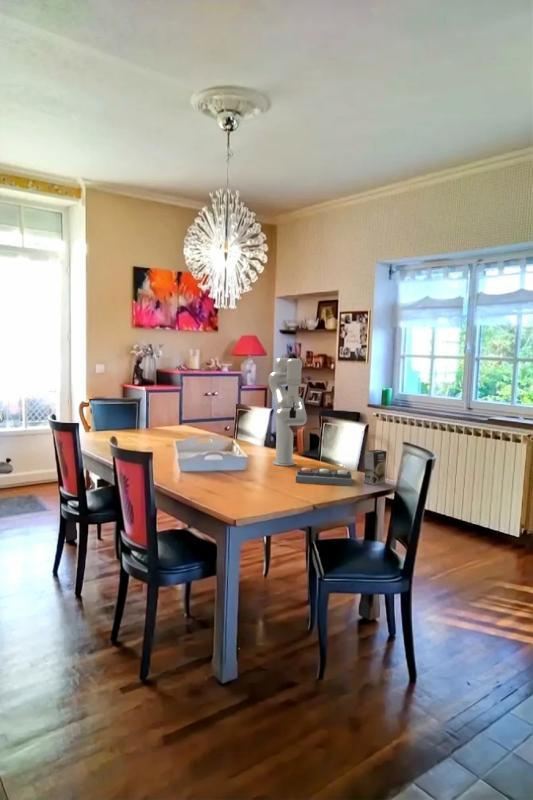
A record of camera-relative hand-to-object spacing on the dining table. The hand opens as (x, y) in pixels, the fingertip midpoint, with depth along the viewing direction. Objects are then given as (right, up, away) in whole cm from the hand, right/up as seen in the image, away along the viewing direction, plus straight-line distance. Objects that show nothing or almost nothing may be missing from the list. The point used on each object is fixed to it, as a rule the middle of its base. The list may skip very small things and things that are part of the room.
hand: (292, 417), depth 278 cm
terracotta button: (+6, -27, -12) cm, 30 cm away
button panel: (+15, -31, -13) cm, 37 cm away
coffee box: (+40, -32, -14) cm, 53 cm away
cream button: (+24, -28, -14) cm, 39 cm away
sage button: (+15, -27, -13) cm, 34 cm away
